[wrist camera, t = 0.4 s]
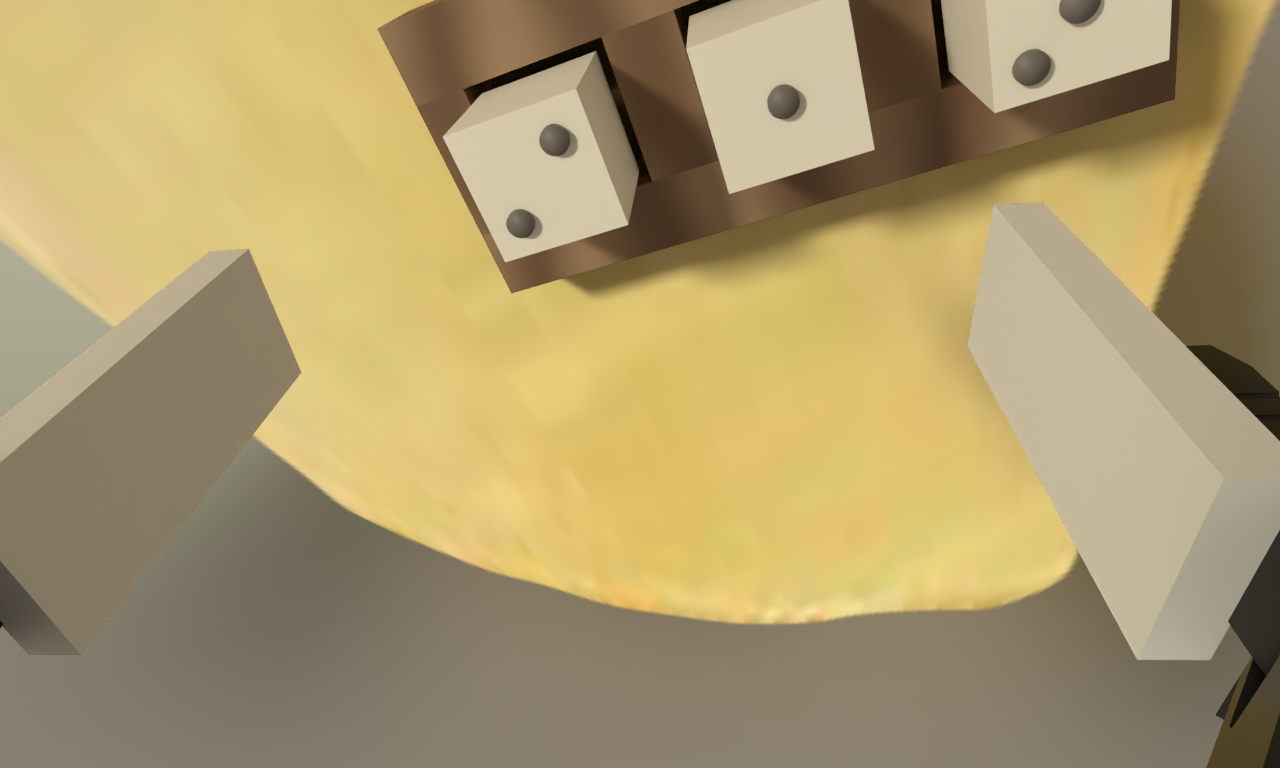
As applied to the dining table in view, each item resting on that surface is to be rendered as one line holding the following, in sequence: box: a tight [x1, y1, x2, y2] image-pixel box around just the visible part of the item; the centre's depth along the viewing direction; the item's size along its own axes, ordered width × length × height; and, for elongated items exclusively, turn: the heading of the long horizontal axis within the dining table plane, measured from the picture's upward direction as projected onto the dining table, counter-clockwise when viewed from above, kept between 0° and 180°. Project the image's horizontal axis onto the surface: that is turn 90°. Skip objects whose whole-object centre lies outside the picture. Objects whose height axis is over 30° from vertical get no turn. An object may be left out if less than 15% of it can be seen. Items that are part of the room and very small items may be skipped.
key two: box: [443, 51, 639, 262], centre depth 31 cm, size 5×6×6 cm
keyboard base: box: [378, 0, 1180, 293], centre depth 32 cm, size 30×13×4 cm, turn 110°
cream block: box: [686, 0, 875, 194], centre depth 28 cm, size 5×6×6 cm
